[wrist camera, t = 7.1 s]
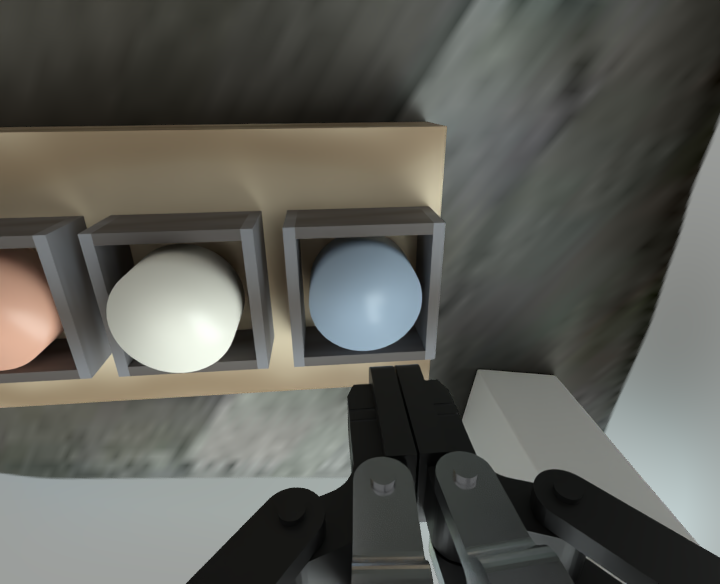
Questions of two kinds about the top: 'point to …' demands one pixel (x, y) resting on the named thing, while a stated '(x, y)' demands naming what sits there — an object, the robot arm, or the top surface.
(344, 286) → the slate blue button
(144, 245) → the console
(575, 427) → the milk
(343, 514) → the robot arm
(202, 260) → the cream button
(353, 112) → the top surface
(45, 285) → the terracotta button
